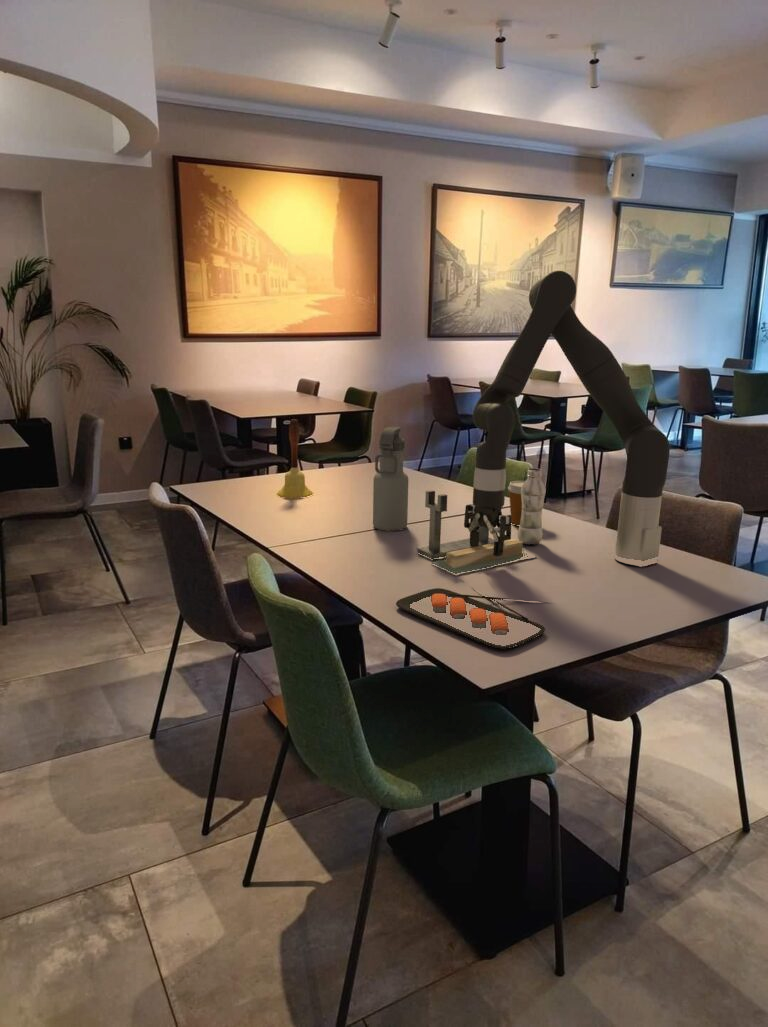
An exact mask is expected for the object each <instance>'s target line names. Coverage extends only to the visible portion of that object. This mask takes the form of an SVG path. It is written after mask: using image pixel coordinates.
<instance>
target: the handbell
mask: <svg viewBox="0 0 768 1027" xmlns="http://www.w3.org/2000/svg"><path fill="white" fill-rule="evenodd" d="M288 438H289V439H288V440H289V443H290V452H291V453H290V454H291V455H290V456H291V457H290V459H291V462H290V463H291V464H290V465H291V468H290V470H289V471H287V472H286V473H285V475H284V485H283V486H282V488H281V489H279V490H278V491H277V492H276V496H277V495H278V496H280V497H279V498H282V497H285V498H284V499H290V498H299V499H302V498H301V497H307V496H310V495H312V494H313V495H314V492H313V491H312V490H311V489H309V487H307V485H306V480H305V479H306V477H305V474H304V472H303V471H300V469H299V456H298V454H299V453H298V450H299V449H298V447H299V441H300V426H299V421H298V419H294V418H293V419H290V422H289V427H288ZM313 495H312V496H313ZM278 496H277V497H278ZM307 498H308V497H307Z"/></svg>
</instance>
